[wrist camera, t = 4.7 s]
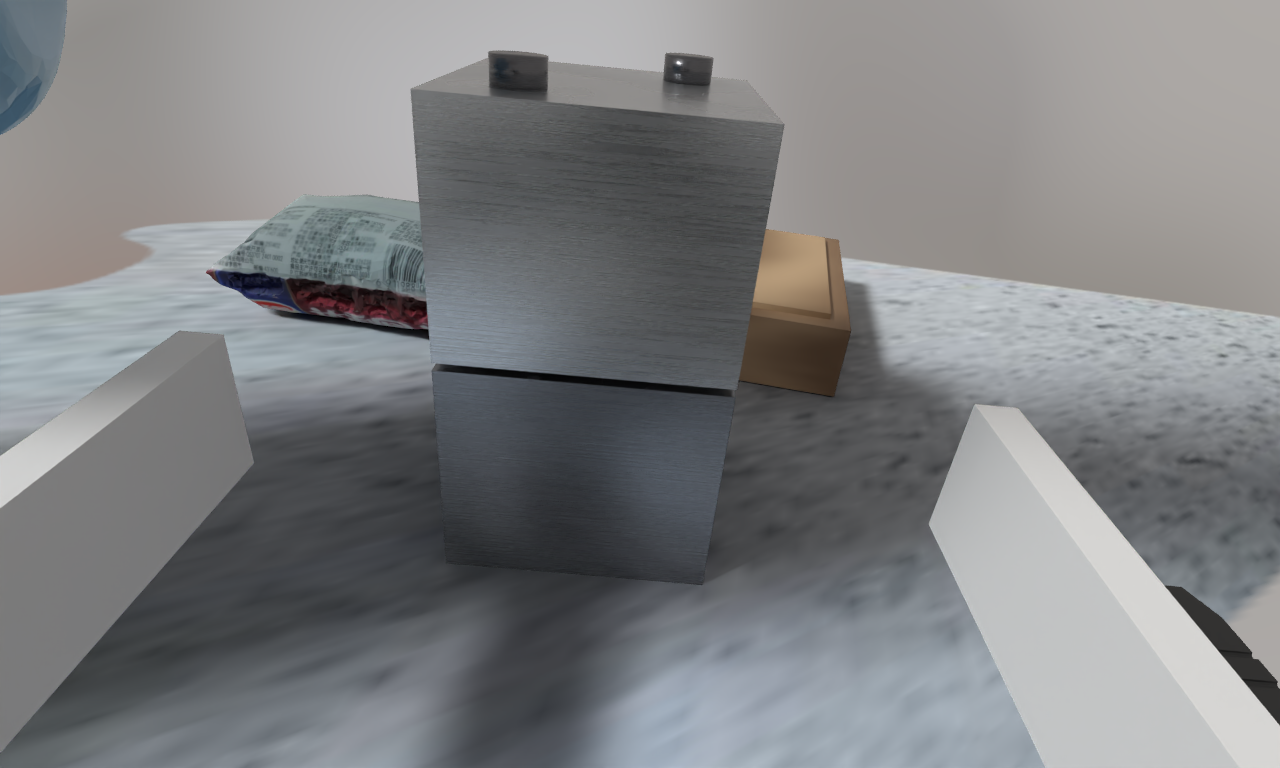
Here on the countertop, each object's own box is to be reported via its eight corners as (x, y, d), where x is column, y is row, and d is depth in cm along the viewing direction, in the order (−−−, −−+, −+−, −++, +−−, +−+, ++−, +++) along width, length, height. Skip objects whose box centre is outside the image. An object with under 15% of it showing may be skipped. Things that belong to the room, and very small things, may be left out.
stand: (554, 348, 30) (556, 277, 29) (618, 259, 40) (622, 204, 39) (833, 396, 29) (852, 325, 27) (826, 291, 39) (839, 235, 37)
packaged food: (325, 257, 37) (311, 164, 35) (538, 289, 36) (539, 195, 34) (212, 325, 30) (183, 213, 27) (474, 368, 29) (469, 255, 26)
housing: (446, 563, 19) (408, 53, 13) (499, 422, 25) (491, 31, 19) (702, 584, 19) (790, 90, 13) (693, 439, 25) (750, 56, 19)
